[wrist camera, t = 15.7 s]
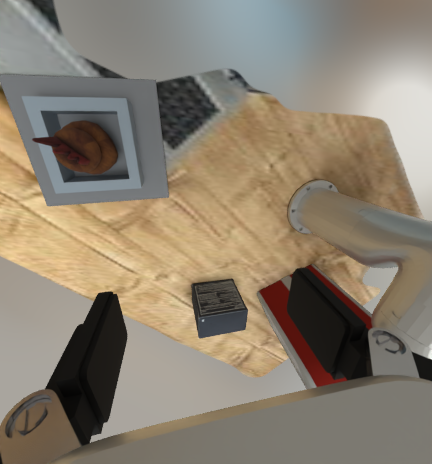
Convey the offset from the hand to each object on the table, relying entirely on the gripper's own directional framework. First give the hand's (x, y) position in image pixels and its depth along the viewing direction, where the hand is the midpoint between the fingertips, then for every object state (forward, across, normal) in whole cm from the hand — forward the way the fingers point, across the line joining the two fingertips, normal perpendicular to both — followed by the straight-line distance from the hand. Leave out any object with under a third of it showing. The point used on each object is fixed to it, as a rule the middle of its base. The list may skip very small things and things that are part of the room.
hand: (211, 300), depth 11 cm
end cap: (+31, +13, -7) cm, 34 cm away
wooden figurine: (+30, +13, -7) cm, 33 cm away
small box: (+32, -5, +27) cm, 42 cm away
